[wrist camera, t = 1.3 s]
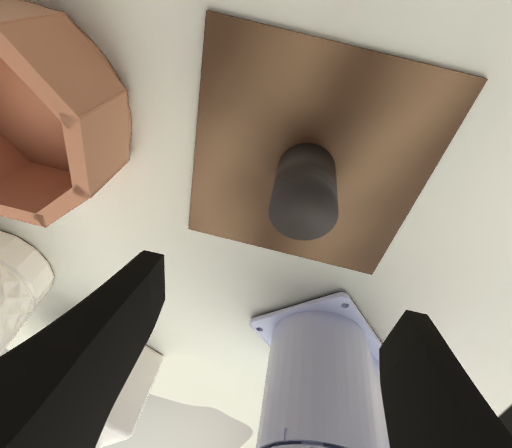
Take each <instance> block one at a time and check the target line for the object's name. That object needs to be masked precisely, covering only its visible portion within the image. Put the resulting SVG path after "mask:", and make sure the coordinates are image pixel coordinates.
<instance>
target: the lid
mask: <svg viewBox="0 0 512 448" xmlns="http://www.w3.org/2000/svg"><path fill="white" fill-rule="evenodd" d="M487 80H488V79H486V78H483V77H479V76H475V75H471V74H467V73H463V72H458V71H454V70H450V69H446V68H442V67H438V66H434V65H430V64H426V63H422V62H418V61H413V60H409V59H405V58H401V57H397V56H393V55H389V54H385V53H381V52H377V51H373V50H368V49H364V48H360V47H356V46H352V45H348V44H344V43H340V42H336V41H332V40H328V39H324V38H319V37H315V36H311V35H307V34H303V33H299V32H295V31H291V30H287V29H283V28H279V27H274V26H270V25H266V24H262V23H258V22H254V21H250V20H246V19H242V18H238V17H234V16H229V15H225V14H221V13H217V12H213V11H209V10H207V11H206V18H205V31H204V43H203V56H202V68H201V80H200V93H199V105H198V117H197V130H196V142H195V154H194V167H193V179H192V191H191V204H190V216H189V228H188V229H191V230H195V231H199V232H203V233H207V234H211V235H215V236H219V237H223V238H227V239H231V240H235V241H239V242H243V243H247V244H251V245H255V246H259V247H263V248H267V249H271V250H275V251H279V252H283V253H287V254H291V255H295V256H299V257H303V258H307V259H311V260H315V261H319V262H323V263H327V264H331V265H335V266H339V267H343V268H347V269H351V270H355V271H359V272H363V273H367V274H371V275H372V274H373V272H374V270H375V269H376V267H377V265H378V264H379V262H380V260H381V258H382V257H383V255H384V253H385V252H386V250H387V248H388V247H389V245H390V243H391V242H392V240H393V238H394V237H395V235H396V233H397V231H398V230H399V228H400V226H401V225H402V223H403V221H404V220H405V218H406V216H407V215H408V213H409V211H410V210H411V208H412V206H413V204H414V203H415V201H416V199H417V198H418V196H419V194H420V193H421V191H422V189H423V188H424V186H425V184H426V183H427V181H428V179H429V177H430V176H431V174H432V172H433V171H434V169H435V167H436V166H437V164H438V162H439V161H440V159H441V157H442V156H443V154H444V152H445V150H446V149H447V147H448V145H449V144H450V142H451V140H452V139H453V137H454V135H455V134H456V132H457V130H458V129H459V127H460V125H461V123H462V122H463V120H464V118H465V117H466V115H467V113H468V112H469V110H470V108H471V107H472V105H473V103H474V102H475V100H476V98H477V96H478V95H479V93H480V91H481V90H482V88H483V86H484V85H485V83H486V81H487Z"/></svg>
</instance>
